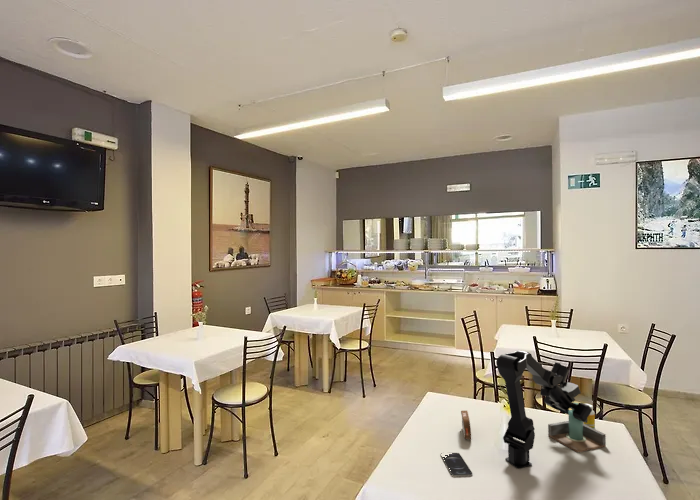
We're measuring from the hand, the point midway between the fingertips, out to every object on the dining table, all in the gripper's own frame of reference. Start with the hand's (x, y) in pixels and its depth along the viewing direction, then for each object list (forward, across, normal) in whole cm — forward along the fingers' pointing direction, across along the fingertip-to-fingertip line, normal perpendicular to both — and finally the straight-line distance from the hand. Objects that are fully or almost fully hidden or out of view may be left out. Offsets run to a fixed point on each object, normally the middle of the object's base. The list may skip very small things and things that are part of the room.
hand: (578, 417), depth 157 cm
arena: (+4, -1, +8) cm, 9 cm away
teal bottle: (+4, 0, +6) cm, 8 cm away
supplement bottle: (+15, +7, -3) cm, 17 cm away
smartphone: (-34, -1, +47) cm, 58 cm away
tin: (-22, +18, +35) cm, 45 cm away
